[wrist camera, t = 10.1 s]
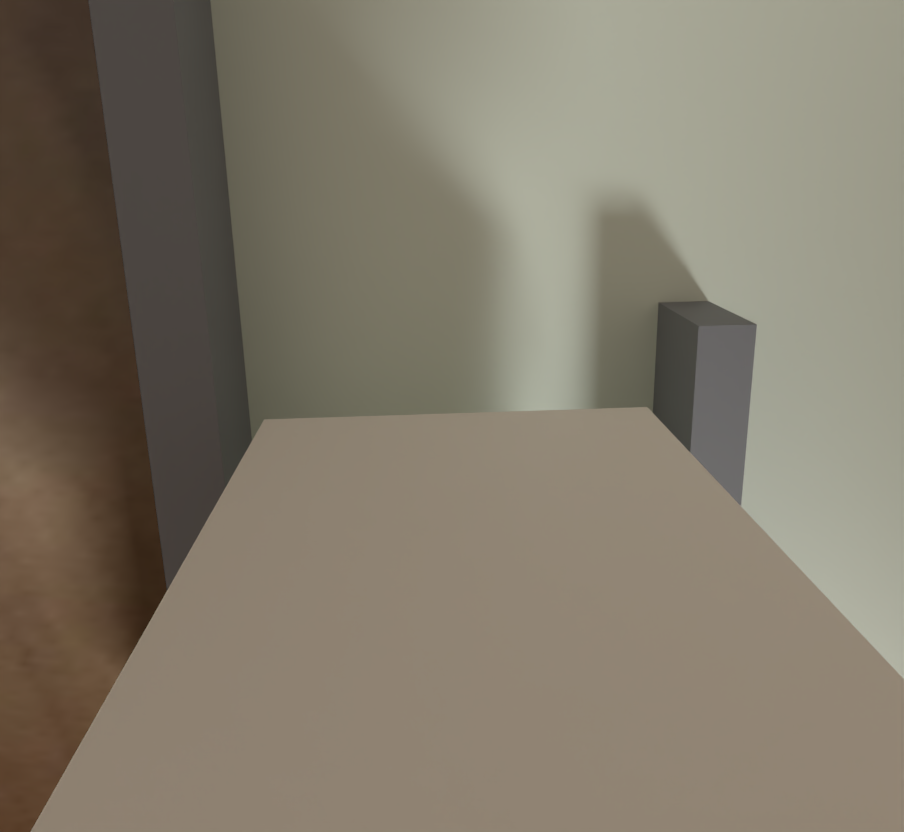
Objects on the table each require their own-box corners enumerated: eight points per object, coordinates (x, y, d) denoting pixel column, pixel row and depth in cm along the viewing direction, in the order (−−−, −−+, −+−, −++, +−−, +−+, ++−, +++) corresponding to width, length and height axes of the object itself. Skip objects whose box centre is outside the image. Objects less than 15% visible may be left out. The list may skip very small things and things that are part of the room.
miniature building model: (1078, 724, 18) (1230, 854, 14) (224, 760, 17) (177, 904, 14) (1354, -464, 12) (1716, -706, 9) (79, -466, 11) (-61, -727, 8)
